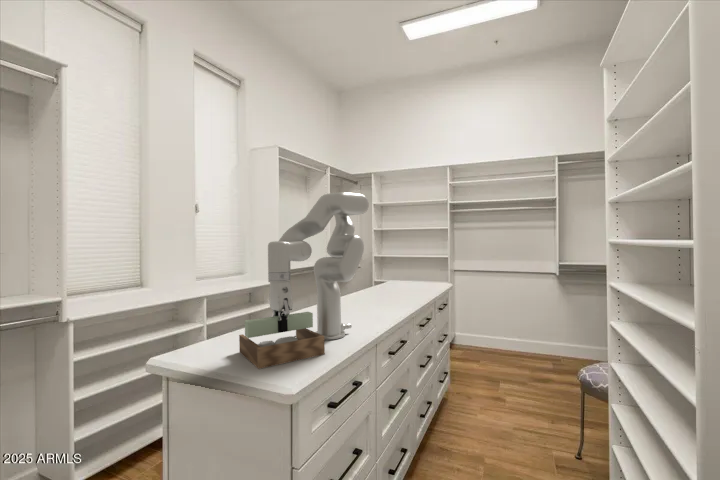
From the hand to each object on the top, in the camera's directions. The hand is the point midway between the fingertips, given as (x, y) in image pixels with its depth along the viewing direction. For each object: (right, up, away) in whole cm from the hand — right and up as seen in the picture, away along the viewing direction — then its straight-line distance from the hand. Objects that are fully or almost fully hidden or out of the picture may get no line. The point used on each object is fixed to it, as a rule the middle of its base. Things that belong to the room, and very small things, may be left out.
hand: (280, 330), depth 120 cm
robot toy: (-1, -8, 0) cm, 8 cm away
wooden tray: (0, -8, 0) cm, 8 cm away
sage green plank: (0, 0, 0) cm, 0 cm away
